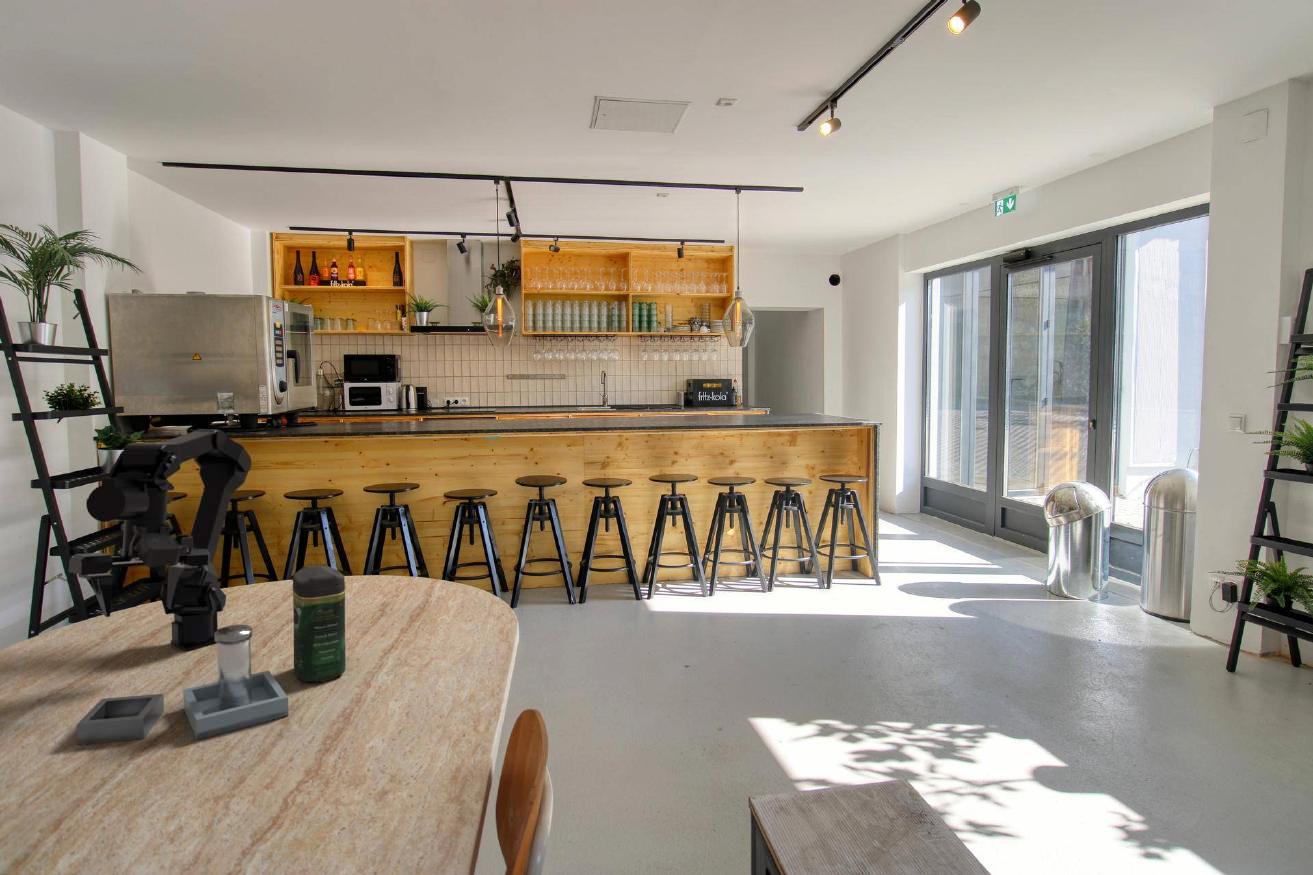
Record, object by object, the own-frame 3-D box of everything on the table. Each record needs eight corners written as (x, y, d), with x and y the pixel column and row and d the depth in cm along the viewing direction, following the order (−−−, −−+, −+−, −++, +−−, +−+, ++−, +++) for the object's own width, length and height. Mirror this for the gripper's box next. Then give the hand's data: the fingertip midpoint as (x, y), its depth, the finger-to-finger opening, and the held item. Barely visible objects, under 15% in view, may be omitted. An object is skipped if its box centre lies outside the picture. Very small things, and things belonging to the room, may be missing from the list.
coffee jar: (351, 677, 126) (350, 572, 125) (301, 688, 122) (299, 579, 120) (337, 657, 134) (336, 558, 132) (289, 667, 129) (287, 565, 128)
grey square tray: (102, 717, 110) (101, 698, 110) (164, 712, 112) (163, 693, 112) (77, 744, 102) (76, 724, 102) (143, 738, 104) (143, 718, 104)
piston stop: (232, 695, 116) (230, 623, 114) (261, 699, 115) (259, 626, 114) (209, 711, 111) (206, 635, 109) (239, 714, 110) (237, 638, 109)
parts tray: (183, 708, 114) (183, 689, 113) (269, 687, 121) (268, 670, 121) (197, 740, 105) (196, 720, 104) (288, 715, 112) (288, 697, 112)
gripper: (99, 523, 110) (92, 628, 109) (228, 518, 126) (223, 610, 125) (70, 519, 116) (63, 618, 116) (196, 515, 132) (191, 603, 131)
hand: (139, 612), depth 122 cm, fingers open, 9 cm apart
